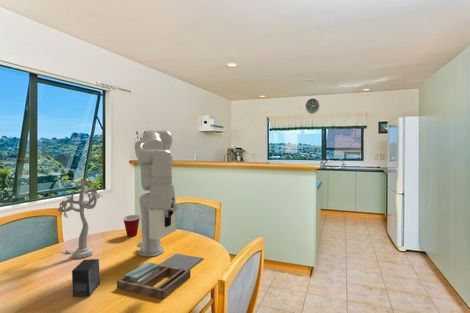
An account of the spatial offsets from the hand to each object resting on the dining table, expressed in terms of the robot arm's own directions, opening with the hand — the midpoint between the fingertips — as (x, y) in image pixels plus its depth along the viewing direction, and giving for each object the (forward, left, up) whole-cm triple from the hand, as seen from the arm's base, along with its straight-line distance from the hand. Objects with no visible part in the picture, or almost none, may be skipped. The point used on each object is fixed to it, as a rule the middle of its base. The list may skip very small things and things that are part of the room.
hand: (163, 225), depth 117 cm
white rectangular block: (0, 0, -4) cm, 4 cm away
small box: (-25, -16, -24) cm, 38 cm away
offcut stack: (-10, -1, -24) cm, 26 cm away
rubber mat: (-5, +20, -24) cm, 32 cm away
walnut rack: (-4, -1, -24) cm, 24 cm away
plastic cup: (-57, +45, -24) cm, 77 cm away
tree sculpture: (-60, +10, -24) cm, 65 cm away
